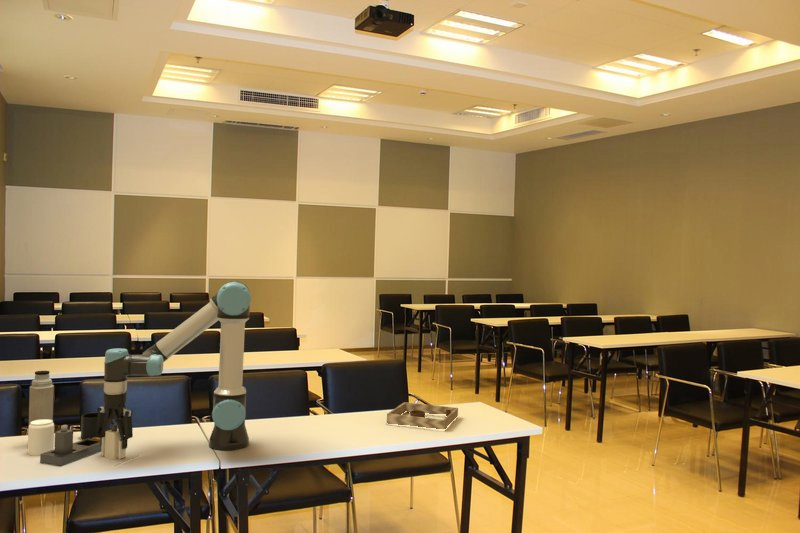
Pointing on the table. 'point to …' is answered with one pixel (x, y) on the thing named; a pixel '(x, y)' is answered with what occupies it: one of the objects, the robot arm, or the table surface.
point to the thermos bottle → (41, 397)
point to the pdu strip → (79, 452)
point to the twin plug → (63, 441)
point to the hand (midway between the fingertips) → (113, 456)
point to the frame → (399, 419)
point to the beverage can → (40, 436)
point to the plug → (112, 442)
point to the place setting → (422, 414)
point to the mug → (89, 425)
